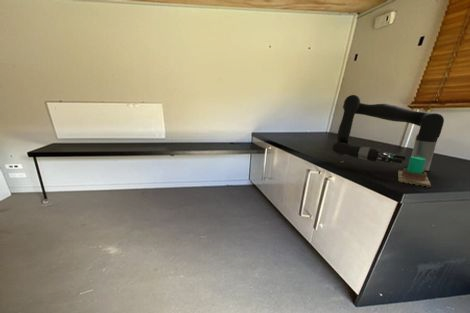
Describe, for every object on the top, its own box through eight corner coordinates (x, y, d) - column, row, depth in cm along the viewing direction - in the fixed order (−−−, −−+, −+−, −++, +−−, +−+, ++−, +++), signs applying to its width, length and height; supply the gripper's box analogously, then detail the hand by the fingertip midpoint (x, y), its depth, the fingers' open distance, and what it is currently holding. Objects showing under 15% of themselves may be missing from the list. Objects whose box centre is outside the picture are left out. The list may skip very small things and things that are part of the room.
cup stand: (398, 172, 117) (399, 165, 116) (426, 177, 110) (428, 169, 109) (398, 181, 103) (400, 173, 102) (430, 187, 96) (432, 179, 95)
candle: (404, 177, 106) (410, 154, 103) (406, 174, 110) (411, 152, 107) (420, 180, 102) (426, 157, 99) (421, 177, 106) (427, 154, 103)
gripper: (366, 149, 114) (402, 155, 102) (373, 146, 123) (407, 150, 112) (363, 162, 116) (399, 169, 104) (371, 158, 125) (404, 164, 114)
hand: (403, 159), depth 108 cm, fingers open, 8 cm apart
